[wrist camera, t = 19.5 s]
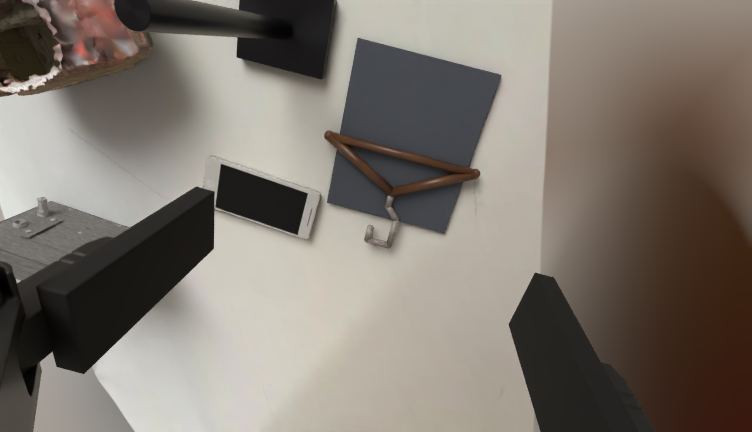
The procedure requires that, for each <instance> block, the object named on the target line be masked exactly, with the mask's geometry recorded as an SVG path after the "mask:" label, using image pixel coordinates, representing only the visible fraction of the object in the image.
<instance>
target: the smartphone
mask: <svg viewBox="0 0 752 432" xmlns="http://www.w3.org/2000/svg"><path fill="white" fill-rule="evenodd" d="M203 189H207V190H211V191H215V200H214V209H217V210H220V211H223V212H226V213H229V214H232V215H235V216H238V217H241V218H244V219H247V220H249V221H252V222H255V223H258V224H261V225H264V226H267V227H270V228H273V229H276V230H279V231H282V232H285V233H288V234H291V235H294V236H297V237H300V238H303V239H308V238H309V237H310V234H311V230H312V226H313V223H314V219H315V215H316V211H317V208H318V204H319V200H320V196H321V194H320V193H319V192H316V191H314V190H311V189H308V188H305V187H302V186H299V185H296V184H293V183H290V182H287V181H284V180H281V179H278V178H275V177H272V176H269V175H267V174H264V173H261V172H258V171H255V170H252V169H249V168H246V167H243V166H240V165H237V164H234V163H231V162H228V161H225V160H223V159H220V158H217V157H213V156H210V157H208V158H206V163H205V173H204V182H203Z"/></svg>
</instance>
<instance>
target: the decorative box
mask: <svg viewBox="0 0 752 432" xmlns="http://www.w3.org/2000/svg"><path fill="white" fill-rule="evenodd" d="M152 47H153V41H152V38H151V36H150V33H149V32H136V31H132V30H130V29H128V28H127V27H126V26H124V25H123V24H122V22H121V21H120V20H119V18H118V16H117V14H116V11H115V7H114V0H0V97H3V96H9V95H12V94H16V93H17V94H18V95H19V96H20V95H21V96H22V95H23V96H24V95H32V94H39V93H42V92H46V91H50V90H56V89H60V88H63V87H67V86H70V85H73V84H77V83H80V82H83V81H87V80H90V79H94V78H97V77H101V76H104V75H109V74H112V73H116V72H120V71H124V70H128V69H131V68H133V66H134V64H135V63H136V62H138V61H140V60H143V59H146V58H147V57H148V56H149V54H150V50H151V49H152Z"/></svg>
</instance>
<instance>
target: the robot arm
mask: <svg viewBox="0 0 752 432" xmlns="http://www.w3.org/2000/svg"><path fill="white" fill-rule="evenodd" d="M214 200H215V191H211V190H207V189H203V188H199V187H195V188H193V189H192V190H190V191H188V192H187V193H185V194H184V195H182V196H180V197H179V198H177V199H176V200H174V201H172V202H171V203H169V204H168V205H166V206H164V207H163V208H161V209H160V210H158V211H156V212H155V213H153V214H151V215H150V216H148V217H147V218H145V219H143V220H142V221H140V222H139V223H137V224H135V225H134V226H132V227H131V228H129V229H127V230H126V231H124V232H123V233H121V234H119V235H118V236H116V237H114V238H112V237H108V236H106V237H103V238H99V239H96V240H93V241H90V242H87V243H85V244H84V245H82V246H80V247H79V248H77V249H75V250H74V251H72V253H71V254H70V253H68V254H67V255H65V256H63V257H62V258H60V259H59V261H55V262H53V263H51V264H50V265H48V266H46V267H44V268H43V269H41V270H39V271H38V272H36V273H34V274H33V275H31V276H29V277H27V278H26V279H24V280H22V281H21V282H19V283H16V279H15V276H14V272H13V269H12V266H11V265H9V264H8V263H6V262H4V261H0V432H33V428H34V421H35V414H36V407H37V400H38V393H39V386H40V378H41V372H42V370H41V366H40V361H41V360H42V359H44V358H45V357H46V356H47V355H49V354H50V353H51V352H52V351H53V355H54V359H55V362H56V366H57V367H60V368H63V369H67V370H71V371H75V372H78V373H83V374H84V373H85V372H86V371H87V370H88V369H90V368H91V367H92V366H93V365H94V364H95V363H96V362H97V361H98V360H99V359H100V358H101V357H102V356H103V355H104V354H105V353H106V352H107V351H108V350H109V349H110V348H111V347H112V346H113V345H114V344H115V343H116V342H117V341H119V340H120V339H121V338H122V337H123V336H124V335H125V334H126V333H127V332H128V331H129V330H130V329H131V328H132V327H133V326H134V325H135V324H136V323H137V322H138V321H139V320H140V319H141V318H142V317H143V316H144V315H145V314H146V313H148V312H149V311H150V310H151V309H152V308H153V307H154V306H155V305H156V304H157V303H158V302H159V301H160V300H161V299H162V298H163V297H164V296H165V295H166V294H167V293H168V292H169V291H170V290H171V289H172V288H173V287H174V286H175V285H177V284H178V283H179V282H180V281H181V280H182V279H183V278H184V277H185V276H186V275H187V274H188V273H189V272H190V271H191V270H192V269H193V268H194V267H195V266H196V265H197V264H198V263H199V262H200V261H201V260H202V259H203V258H204V257H206V256H207V255H208V254H209V253H210V252H211V251H212V250H213V249H214ZM509 327H510V331H511V334H512V337H513V341H514V344H515V347H516V351H517V354H518V357H519V361H520V364H521V367H522V371H523V374H524V377H525V381H526V384H527V388H528V391H529V394H530V398H531V401H532V404H533V408H534V411H535V414H536V418H537V421H538V424H539V428H540V431H541V432H655V430H654V428H653V427H652V425H651V423H650V422H649V420H648V418H647V417H646V415H645V413H644V412H643V411H641V406H640V405H639V403H638V401H637V400H636V398H634V395H633V393H632V391H631V390H630V388H629V386H628V385H627V383H626V381H625V380H624V379H623V378H622V377H621V375H619V373H618V372H617V371H616V370H615V369H614V368H613V367H612V366H611V365H609V364H606V363H602V362H600V360H599V358H598V356H597V355H596V353H595V351H594V349H593V348H592V346H591V344H590V342H589V340H588V338H587V337H586V335H585V333H584V331H583V329H582V327H581V326H580V324H579V322H578V320H577V318H576V317H575V315H574V313H573V311H572V310H571V308H570V306H569V304H568V302H567V301H566V298H565V297H564V295H563V293H562V291H561V289H560V288H559V286H558V284H557V282H556V280H555V279H554V278H553V277H550V276H545V275H542V274H538V273H535V274H534V276H533V278H532V280H531V282H530V284H529V286H528V287H527V289H526V291H525V293H524V295H523V297H522V299H521V301H520V303H519V305H518V307H517V309H516V311H515V313H514V315H513V317H512V319H511V321H510V323H509Z"/></svg>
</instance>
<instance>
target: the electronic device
mask: <svg viewBox="0 0 752 432" xmlns="http://www.w3.org/2000/svg"><path fill="white" fill-rule="evenodd" d="M37 200H38V207H35V208H33V209H31V210H28V211H26V212H23V213H21V214H18V215H16V216H13V217H11V218H9V219H6V220H4V221H2V222H0V261H4V262H6V263H8V264H9V265H11V266H12V269H13V272H14V276H15V279H18V280H21V281H22V280H24V279H26V278H27V277H29V276H31V275H33V274H34V273H36V272H38V271H39V270H41V269H43V268H44V267H46V266H48V265H50V264H51V263H53V262H55V261H59V259H60V258H62V257H63V256H65V255H67V254H68V253H70V254H71V253H72V251H74V250H75V249H77V248H79V247H80V246H82V245H84V244H85V243H87V242H90V241H93V240H96V239H99V238H103V237H106V236H108V237H112V238H114V237H116V236H118V235H119V234H121V233H123V232H124V231H126V230H127V229H129V228H128V227H125V226H122V225H119V224H117V223H114V222H111V221H108V220H105V219H102V218H99V217H96V216H93V215H90V214H87V213H84V212H81V211H78V210H75V209H72V208H70V207H67V206H64V205H61V204H58V203H55V202H52V201H50V202H48V203H47V199H46V198H45V197H40V198H37Z"/></svg>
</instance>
